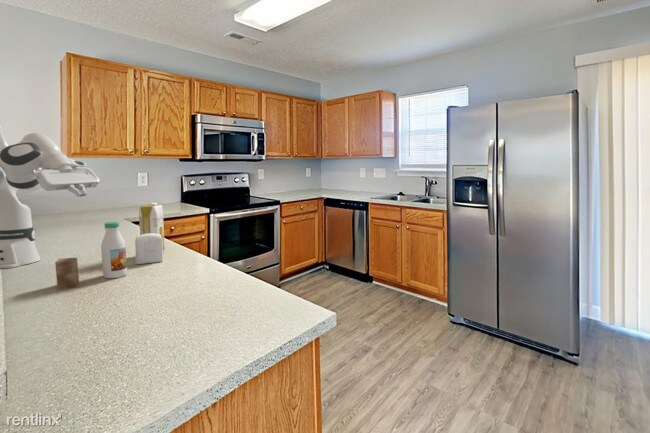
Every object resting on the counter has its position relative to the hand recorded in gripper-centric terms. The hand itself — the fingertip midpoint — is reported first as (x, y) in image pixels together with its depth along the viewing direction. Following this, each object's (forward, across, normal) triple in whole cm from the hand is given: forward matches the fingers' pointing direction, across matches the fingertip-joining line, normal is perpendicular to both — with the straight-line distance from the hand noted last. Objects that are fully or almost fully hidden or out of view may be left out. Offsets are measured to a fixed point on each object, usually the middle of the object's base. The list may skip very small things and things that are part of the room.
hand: (82, 195), depth 129 cm
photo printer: (+29, +18, +13) cm, 37 cm away
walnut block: (+26, -14, +16) cm, 33 cm away
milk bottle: (+30, -1, +12) cm, 32 cm away
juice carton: (+24, +27, +18) cm, 40 cm away
